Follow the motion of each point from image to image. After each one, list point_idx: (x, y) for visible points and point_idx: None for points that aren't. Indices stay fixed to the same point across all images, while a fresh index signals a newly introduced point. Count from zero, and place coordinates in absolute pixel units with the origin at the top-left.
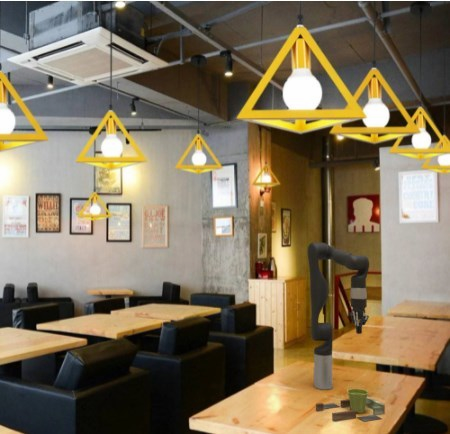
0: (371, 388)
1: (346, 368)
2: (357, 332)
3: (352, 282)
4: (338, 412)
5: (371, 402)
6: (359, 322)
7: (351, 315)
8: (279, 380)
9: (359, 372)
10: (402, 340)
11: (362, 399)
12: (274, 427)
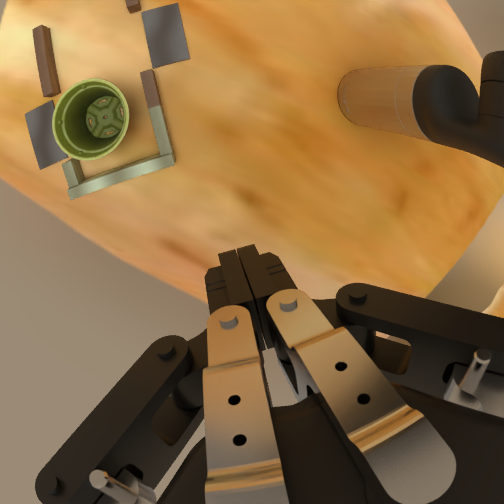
0: (317, 238)
1: (465, 238)
2: (227, 255)
3: None
4: (42, 42)
5: (117, 170)
6: (292, 369)
7: (471, 344)
8: (434, 19)
9: (435, 257)
10: None
11: (65, 128)
12: None
